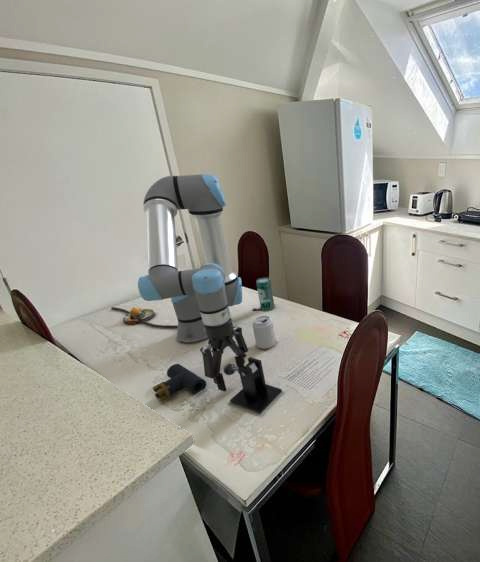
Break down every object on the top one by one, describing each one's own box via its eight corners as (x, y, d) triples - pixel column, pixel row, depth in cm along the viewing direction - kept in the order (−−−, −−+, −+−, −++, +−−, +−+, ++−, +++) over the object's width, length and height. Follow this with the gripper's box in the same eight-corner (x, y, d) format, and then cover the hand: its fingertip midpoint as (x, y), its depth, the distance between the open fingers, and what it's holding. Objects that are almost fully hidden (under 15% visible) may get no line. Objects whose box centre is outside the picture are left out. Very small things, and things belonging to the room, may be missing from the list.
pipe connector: (167, 397, 93) (143, 379, 100) (171, 411, 95) (148, 392, 102) (204, 376, 102) (180, 360, 109) (207, 388, 104) (183, 373, 111)
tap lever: (224, 377, 99) (219, 368, 98) (232, 370, 102) (228, 361, 101) (251, 376, 93) (246, 366, 92) (260, 369, 96) (255, 359, 95)
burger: (160, 311, 153) (155, 298, 150) (144, 324, 142) (139, 310, 139) (135, 312, 152) (130, 298, 150) (117, 325, 142) (111, 310, 139)
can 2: (270, 351, 122) (265, 325, 117) (253, 349, 123) (247, 323, 119) (279, 340, 129) (275, 315, 124) (262, 338, 130) (258, 313, 125)
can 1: (258, 308, 154) (253, 281, 148) (268, 303, 159) (263, 276, 153) (267, 311, 151) (262, 283, 145) (276, 306, 156) (272, 279, 150)
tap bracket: (230, 403, 97) (221, 368, 92) (253, 383, 106) (246, 349, 100) (260, 415, 93) (252, 379, 87) (282, 393, 101) (276, 358, 96)
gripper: (196, 342, 82) (215, 407, 91) (252, 307, 99) (263, 365, 109) (176, 336, 85) (197, 399, 94) (234, 303, 102) (247, 360, 111)
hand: (232, 381), depth 101 cm, fingers open, 8 cm apart
